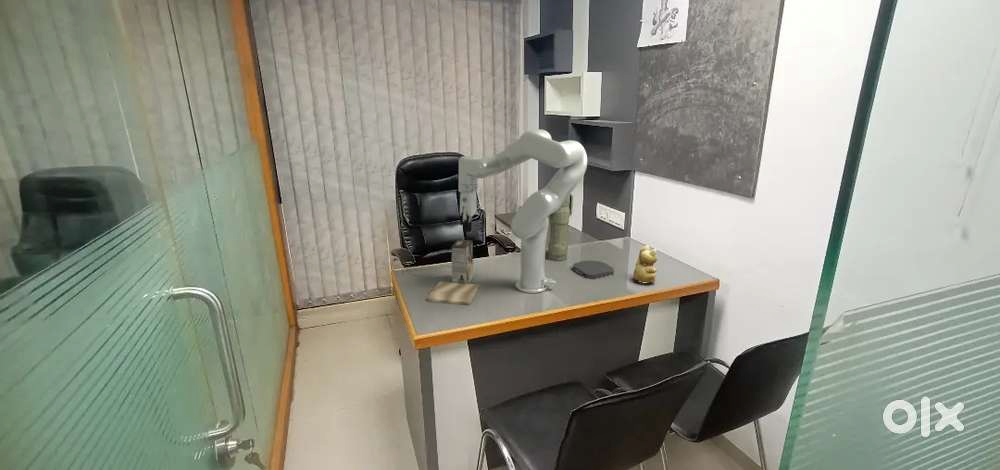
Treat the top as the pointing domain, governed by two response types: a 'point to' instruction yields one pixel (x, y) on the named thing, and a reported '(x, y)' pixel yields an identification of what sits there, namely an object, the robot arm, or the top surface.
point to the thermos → (560, 231)
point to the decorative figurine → (646, 265)
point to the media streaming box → (593, 269)
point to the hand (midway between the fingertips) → (467, 230)
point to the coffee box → (462, 261)
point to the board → (453, 293)
